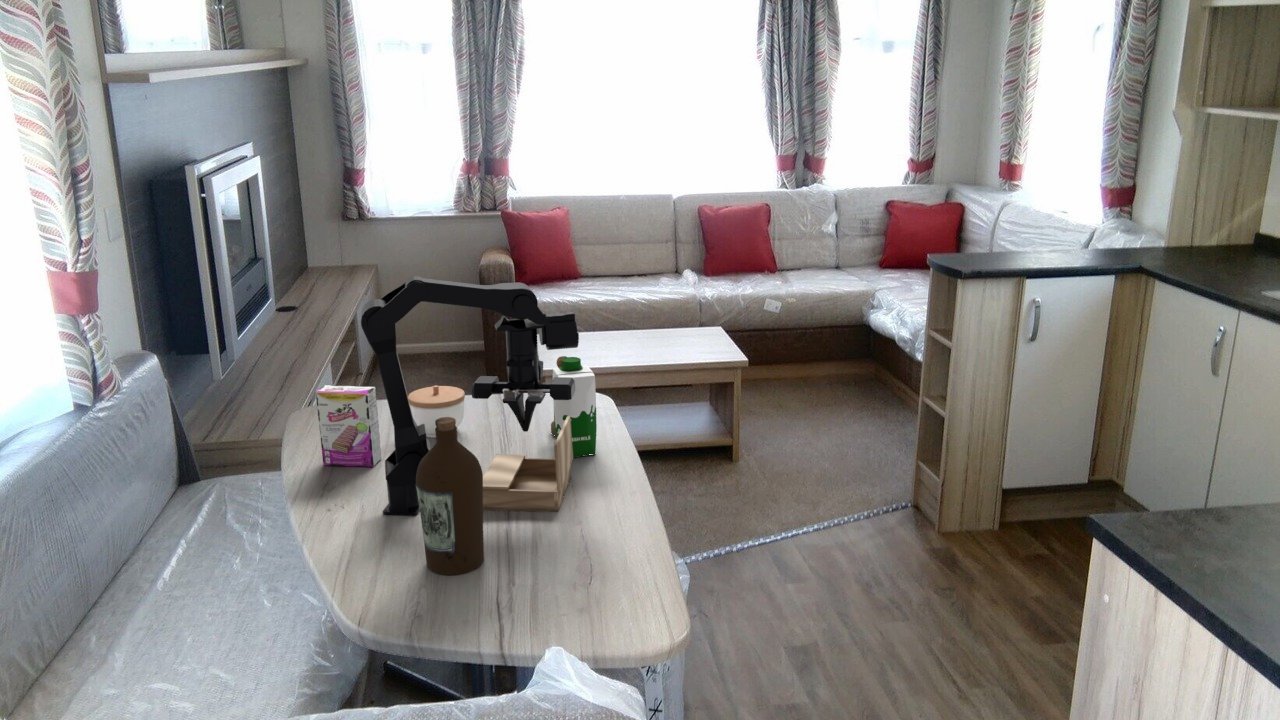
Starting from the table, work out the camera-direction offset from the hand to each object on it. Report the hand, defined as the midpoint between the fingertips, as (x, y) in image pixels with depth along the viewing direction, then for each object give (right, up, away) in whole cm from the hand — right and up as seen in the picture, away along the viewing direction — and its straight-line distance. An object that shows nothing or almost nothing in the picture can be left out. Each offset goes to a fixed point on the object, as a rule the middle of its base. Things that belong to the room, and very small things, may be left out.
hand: (525, 430), depth 181 cm
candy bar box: (-39, -8, +19) cm, 44 cm away
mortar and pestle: (+5, -3, +35) cm, 36 cm away
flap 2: (+7, -4, +1) cm, 8 cm away
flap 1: (-5, -8, +3) cm, 10 cm away
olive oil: (-9, -20, -23) cm, 32 cm away
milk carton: (+8, -6, +24) cm, 26 cm away
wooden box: (0, -12, +4) cm, 13 cm away
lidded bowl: (-24, -3, +36) cm, 44 cm away
